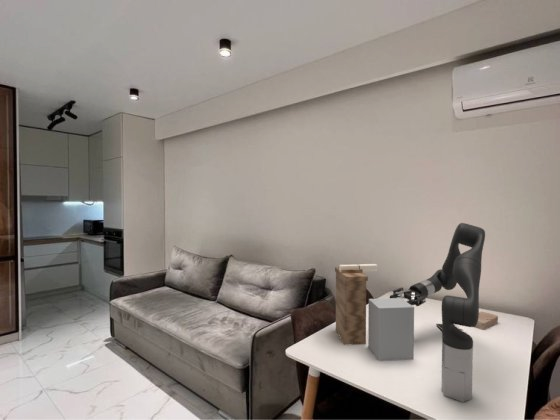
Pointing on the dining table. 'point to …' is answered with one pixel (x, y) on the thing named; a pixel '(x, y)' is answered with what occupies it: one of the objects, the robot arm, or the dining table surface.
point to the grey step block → (391, 329)
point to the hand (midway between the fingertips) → (397, 301)
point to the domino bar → (360, 267)
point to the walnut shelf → (351, 305)
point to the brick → (486, 320)
